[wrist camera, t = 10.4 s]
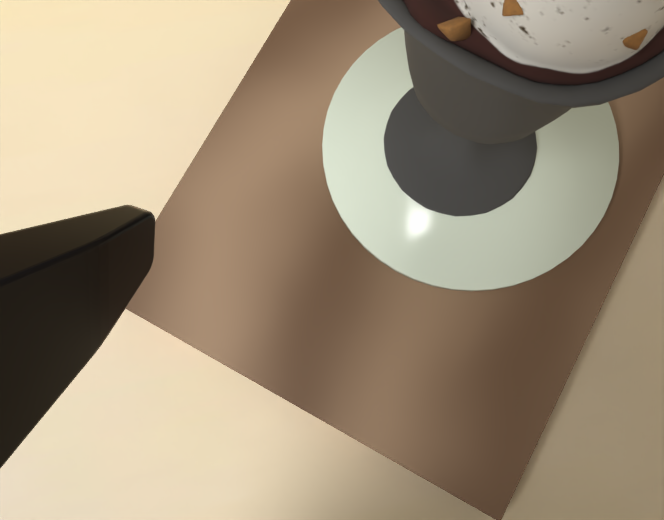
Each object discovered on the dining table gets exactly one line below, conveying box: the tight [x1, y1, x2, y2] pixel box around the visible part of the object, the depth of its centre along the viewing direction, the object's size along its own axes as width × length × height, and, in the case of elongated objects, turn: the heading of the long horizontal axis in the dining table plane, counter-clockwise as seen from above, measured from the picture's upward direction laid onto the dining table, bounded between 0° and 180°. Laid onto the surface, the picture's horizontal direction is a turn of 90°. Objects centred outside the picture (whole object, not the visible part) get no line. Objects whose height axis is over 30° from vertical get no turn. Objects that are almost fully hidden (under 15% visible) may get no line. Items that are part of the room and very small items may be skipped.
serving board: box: [126, 0, 664, 520], centre depth 21 cm, size 14×16×1 cm
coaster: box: [322, 27, 619, 292], centre depth 20 cm, size 10×10×1 cm
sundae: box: [378, 0, 664, 216], centre depth 13 cm, size 7×7×15 cm
